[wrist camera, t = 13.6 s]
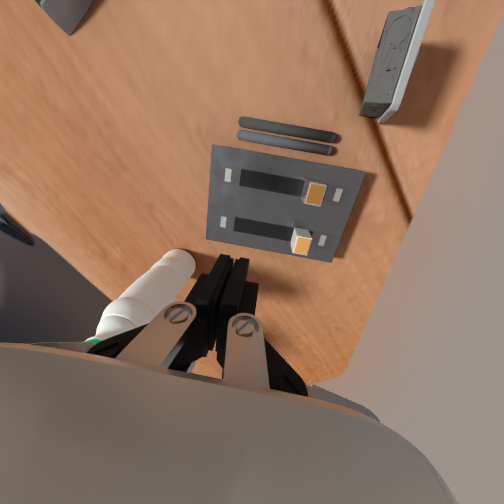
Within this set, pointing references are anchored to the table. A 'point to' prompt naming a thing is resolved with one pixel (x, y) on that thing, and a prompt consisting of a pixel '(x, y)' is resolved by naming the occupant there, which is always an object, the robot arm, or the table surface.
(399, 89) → the electrical switch
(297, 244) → the lever
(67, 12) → the external hard drive
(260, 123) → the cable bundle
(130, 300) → the water bottle
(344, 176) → the slider control panel
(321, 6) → the table surface
